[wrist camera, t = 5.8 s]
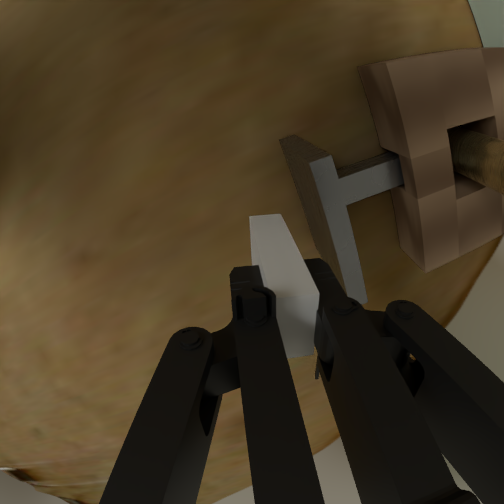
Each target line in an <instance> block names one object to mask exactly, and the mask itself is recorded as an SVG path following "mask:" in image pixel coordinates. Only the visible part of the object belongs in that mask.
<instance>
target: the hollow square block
mask: <svg viewBox="0 0 504 504" xmlns="http://www.w3.org/2000/svg"><path fill="white" fill-rule="evenodd" d="M468 1H469V4H470V7H471V10H472V12H473V15H474V18H475V21H476V24H477V27H478V30H479V33H480V37H481V40H482V44H483V47H504V0H468Z"/></svg>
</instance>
